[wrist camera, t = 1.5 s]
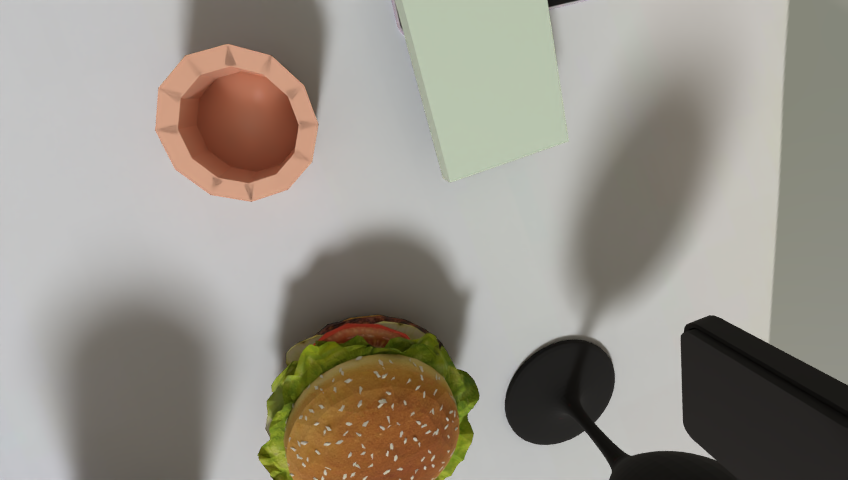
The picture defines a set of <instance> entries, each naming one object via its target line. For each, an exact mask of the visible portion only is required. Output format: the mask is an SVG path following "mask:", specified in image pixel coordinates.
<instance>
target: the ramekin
mask: <svg viewBox="0 0 848 480" xmlns="http://www.w3.org/2000/svg"><path fill="white" fill-rule="evenodd" d="M317 129H318V122H317V119H316V117H315V114H314V111H313V108H312V106H311V103H310V100H309V97H308V95H307V92H306V89H305V86H304V85H303V84H302V83H301V82H300V81H299V80H298V79H296V78H295V77H294V76H293V75H292V74H291V73H290V72H289V71H288V70H287V69H286V68H284V67H283V66H282V65H281V64H280V63H279V62H278V61H277V60H276V59H275V58H274V57H272V56H271V55H267V54H264V53H260V52H256V51H253V50H249V49H245V48H241V47H238V46H234V45H230V44H225V45H221V46H218V47H214V48H211V49H207V50H203V51H200V52H196V53H193V54H189V55H185V57H184V58H183V59H182V60H181V61H180V63H179V64H178V65H177V66H176V67H175V69H174V70H173V71H172V72H171V73H170V75H169V76H168V77H167V78H166V79H165V81H164V82H163V83H162V84H161V85H160V87H159V88H158V101H157V115H156V128H155V131H156V133H157V135H158V136H159V138H160V140H161V142H162V144H163V146H164V148H165V150H166V152H167V154H168V156H169V158H170V160H171V162H172V164H173V166H174V168H175V170H177V171H178V172H180V173H181V174H182V175H184V176H185V177H187V178H188V179H189V180H191V181H192V182H193V183H195V184H196V185H198V186H199V187H200V188H202V189H203V190H205V191H206V192H207V193H209V194H210V195H214V196H220V197H226V198H232V199H238V200H244V201H250V202H252V201H255V200H258V199H261V198H264V197H267V196H270V195H273V194H276V193H279V192H282V191H285V190H288V189H289V188H290V187H291V185H292V184H293V183H294V182H295V181H296V180H297V179H298V177H299V176H300V175H301V174H302V173H303V172H304V171H305V169H306V168H307V167H308V166H309V165H310V164H311V162H312V159H313V153H314V147H315V141H316V135H317Z"/></svg>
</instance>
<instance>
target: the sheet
mask: <svg viewBox="0 0 848 480" xmlns="http://www.w3.org/2000/svg"><path fill="white" fill-rule="evenodd" d="M395 3H396V7H397V10H398V14H399V18H400V21H401V25H402V29H403V32H404V36H405V40H406V43H407V47H408V51H409V55H410V58H411V62H412V66H413V69H414V73H415V77H416V80H417V84H418V88H419V92H420V95H421V99H422V103H423V106H424V110H425V114H426V117H427V121H428V125H429V128H430V132H431V136H432V140H433V143H434V147H435V151H436V154H437V158H438V162H439V165H440V169H441V173H442V176H443V179H445V180H446V181H448V182H450V183H451V182H454V181H457V180H460V179H462V178H465V177H468V176H471V175H474V174H477V173H480V172H482V171H485V170H488V169H491V168H494V167H497V166H500V165H502V164H505V163H508V162H511V161H514V160H517V159H520V158H522V157H525V156H528V155H531V154H534V153H537V152H540V151H542V150H545V149H548V148H551V147H554V146H557V145H560V144H562V143H565V142H568V141H569V139H568V133H567V126H566V120H565V113H564V107H563V100H562V93H561V87H560V80H559V74H558V67H557V61H556V54H555V47H554V41H553V34H552V28H551V21H550V15H549V8H548V1H547V0H395Z"/></svg>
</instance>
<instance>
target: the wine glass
mask: <svg viewBox="0 0 848 480" xmlns="http://www.w3.org/2000/svg"><path fill="white" fill-rule="evenodd" d="M614 383H615V373H614V368H613V365H612V362H611V360H610V358H609V357H608V356H607V354H606V353H605V352H604V351H603V350H602V349H601V348H599V347H598V346H596V345H594V344H593V343H590V342H587V341H582V340H567V341H561V342H558V343H555V344H552V345H549V346H547V347H545V348H543V349H542V350H540V351H539V352H537V353H536V354H534V355H533V356H532V357H531V358H529V359H528V360H527V361H526V362H525V363H524V364H523V365H522V366H521V367H520V369H519V370H518V371H517V373H516V374H515V376H514V377H513V379H512V381H511V383H510V385H509V388H508V391H507V395H506V400H505V412H506V417H507V420H508V422H509V424H510V426H511V428H512V429H513V431H514V432H515V433H516V434H517V435H518V436H519V437H521V438H522V439H524V440H525V441H528V442H531V443H534V444H539V445H550V444H557V443H561V442H564V441H567V440H570V439H572V438H574V437H576V436H577V435H579V434H581V433H582V432H584V431H585V432H586V433H587V434H588V435H589V436H590V438H591V439H592V440H593V442H594V443H595V444H596V445H597V447H598V448H599V450H600V451H601V452H602V454H603V455H604V457H605V458H606V460H607V461H608V463H609V465H610V467H611V469H612V474H611V476H610V479H609V480H738V479H737V478H736V477H735V476H734V475H733V474H732V473H730V472H729V471H728V470H727V469H726V468H725V467H724V466H722V465H721V464H720V463H719V462H718V461H716V460H713V459H710V458H707V457H704V456H700V455H696V454H691V453H686V452H677V451H656V452H648V453H641V454H637V455H633V456H630V455H628V454H626V453H624V452H623V451H622V450H621V449H620V448H618V447H617V446H616V445H615V444H614V443H613V442H612V441H611V440H610V439H609V438H608V437H607V436H606V435H605V434H604V433H603V432H602V431H601V430H600V429H599V428H598V427H597V425H596V424H595V423H594V422H595V421H596V420H597V419H598V418H599V417H600V416H601V414H602V413H603V412H604V410H605V408H606V407H607V405H608V403H609V401H610V399H611V396H612V393H613V389H614Z"/></svg>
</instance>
